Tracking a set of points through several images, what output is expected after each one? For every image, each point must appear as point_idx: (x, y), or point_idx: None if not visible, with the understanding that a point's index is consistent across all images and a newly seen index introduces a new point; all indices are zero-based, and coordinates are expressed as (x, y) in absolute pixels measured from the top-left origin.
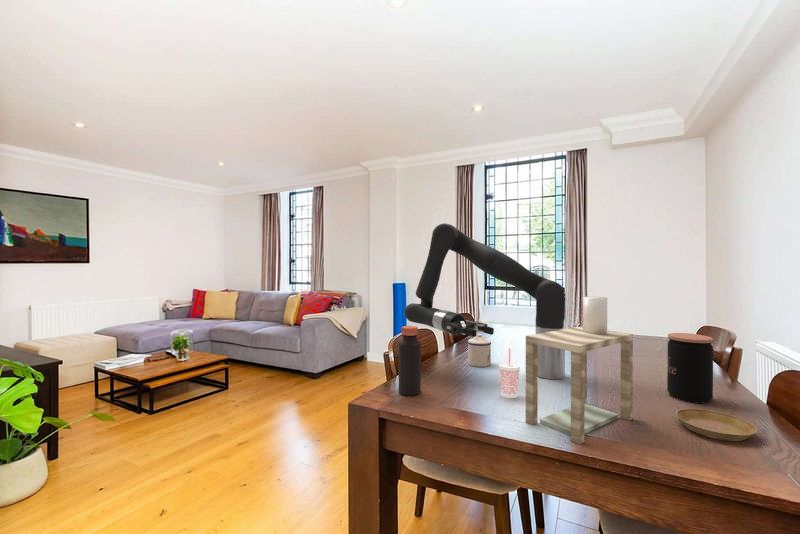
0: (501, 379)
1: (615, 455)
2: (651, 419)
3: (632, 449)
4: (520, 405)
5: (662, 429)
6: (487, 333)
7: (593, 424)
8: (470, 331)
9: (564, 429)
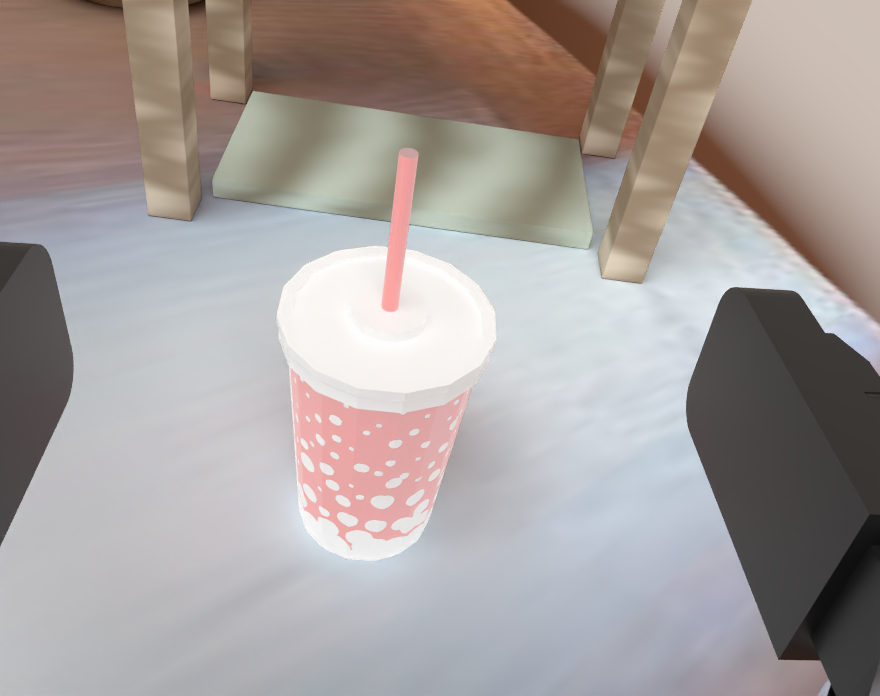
0: (450, 444)
1: (574, 88)
2: None
3: (493, 70)
4: None
5: (252, 38)
6: (21, 487)
7: (447, 121)
8: (867, 387)
9: (581, 167)
